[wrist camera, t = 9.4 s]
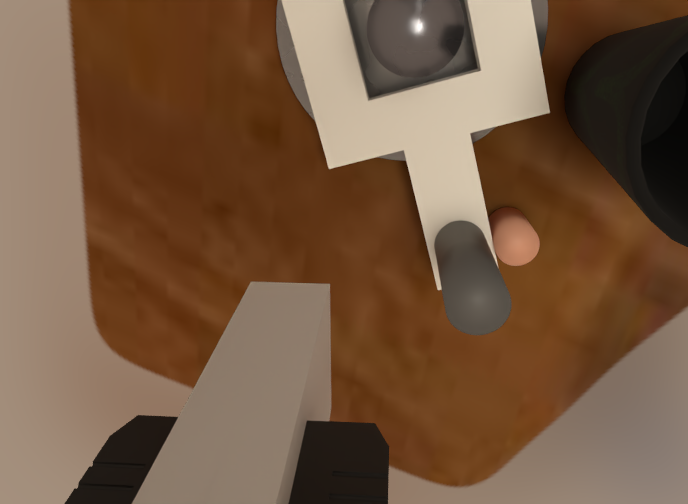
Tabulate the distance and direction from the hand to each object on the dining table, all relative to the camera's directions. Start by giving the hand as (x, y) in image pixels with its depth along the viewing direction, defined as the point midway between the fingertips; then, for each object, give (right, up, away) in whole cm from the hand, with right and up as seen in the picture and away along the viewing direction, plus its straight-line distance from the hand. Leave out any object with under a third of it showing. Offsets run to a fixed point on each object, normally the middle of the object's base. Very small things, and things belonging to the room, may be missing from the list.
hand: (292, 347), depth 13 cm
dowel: (+9, +3, +20) cm, 22 cm away
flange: (+5, +9, +17) cm, 20 cm away
